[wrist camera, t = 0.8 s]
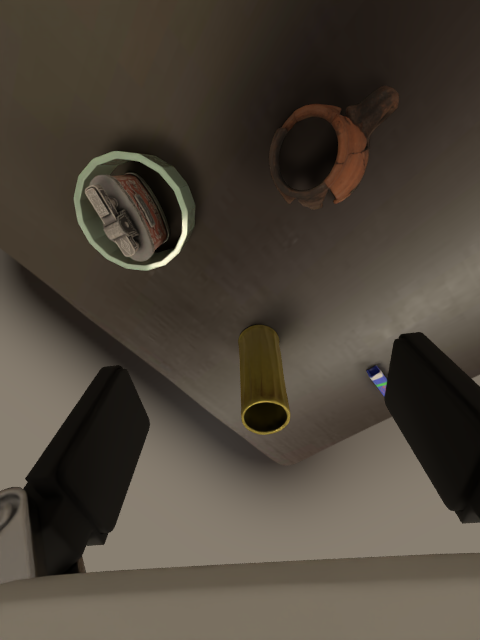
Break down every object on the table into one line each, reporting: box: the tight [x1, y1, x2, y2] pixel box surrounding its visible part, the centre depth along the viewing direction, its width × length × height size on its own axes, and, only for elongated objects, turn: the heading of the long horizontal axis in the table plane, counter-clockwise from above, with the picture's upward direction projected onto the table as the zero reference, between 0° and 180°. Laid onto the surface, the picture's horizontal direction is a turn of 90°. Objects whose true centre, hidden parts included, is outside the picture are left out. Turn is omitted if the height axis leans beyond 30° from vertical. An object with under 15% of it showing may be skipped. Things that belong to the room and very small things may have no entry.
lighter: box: [85, 173, 170, 262], centre depth 27 cm, size 8×3×10 cm, turn 22°
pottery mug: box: [269, 86, 399, 210], centre depth 26 cm, size 12×10×8 cm
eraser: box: [367, 366, 387, 397], centre depth 43 cm, size 2×6×2 cm, turn 39°
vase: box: [238, 325, 290, 434], centre depth 35 cm, size 6×6×14 cm
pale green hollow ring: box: [74, 151, 195, 271], centre depth 30 cm, size 11×11×5 cm
